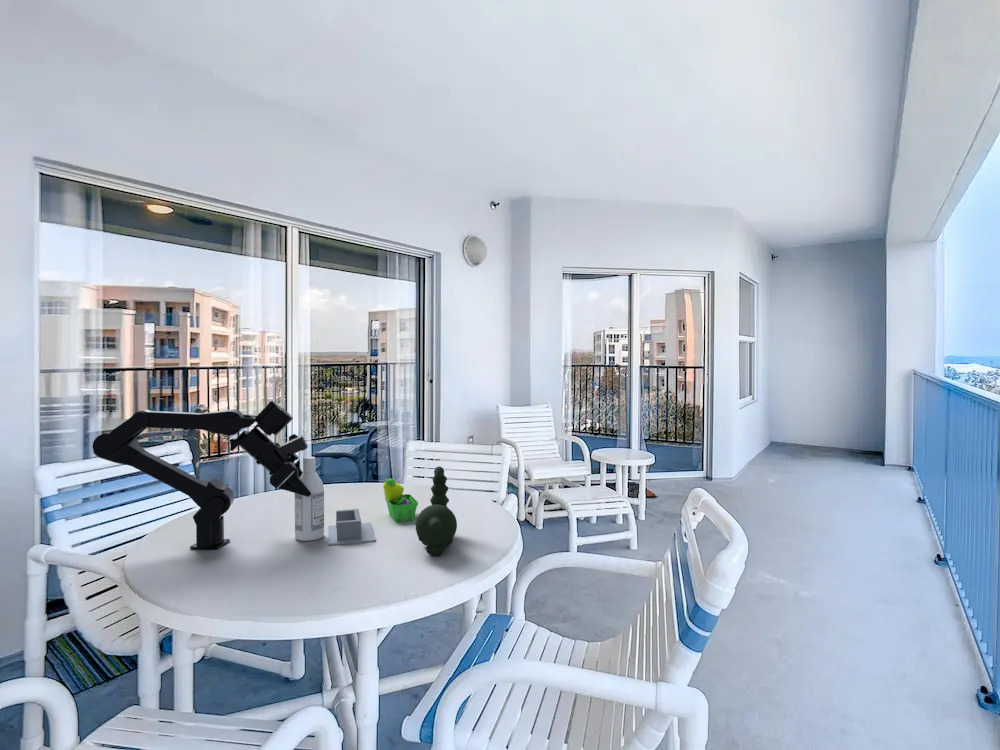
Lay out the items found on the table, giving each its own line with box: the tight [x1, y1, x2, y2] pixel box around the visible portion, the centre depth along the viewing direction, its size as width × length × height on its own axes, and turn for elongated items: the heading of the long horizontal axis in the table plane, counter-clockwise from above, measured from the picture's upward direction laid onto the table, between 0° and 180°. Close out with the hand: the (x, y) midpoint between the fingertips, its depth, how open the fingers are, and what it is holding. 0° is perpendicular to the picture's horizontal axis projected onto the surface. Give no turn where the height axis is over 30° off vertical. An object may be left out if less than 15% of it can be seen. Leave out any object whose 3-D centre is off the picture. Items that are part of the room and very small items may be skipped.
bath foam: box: [294, 456, 325, 542], centre depth 143 cm, size 7×7×20 cm
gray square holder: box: [327, 508, 376, 546], centre depth 147 cm, size 11×16×5 cm
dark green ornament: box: [415, 466, 458, 557], centre depth 137 cm, size 9×19×25 cm
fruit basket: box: [383, 477, 419, 523], centre depth 163 cm, size 11×9×11 cm
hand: (310, 491), depth 144 cm, fingers open, 9 cm apart
